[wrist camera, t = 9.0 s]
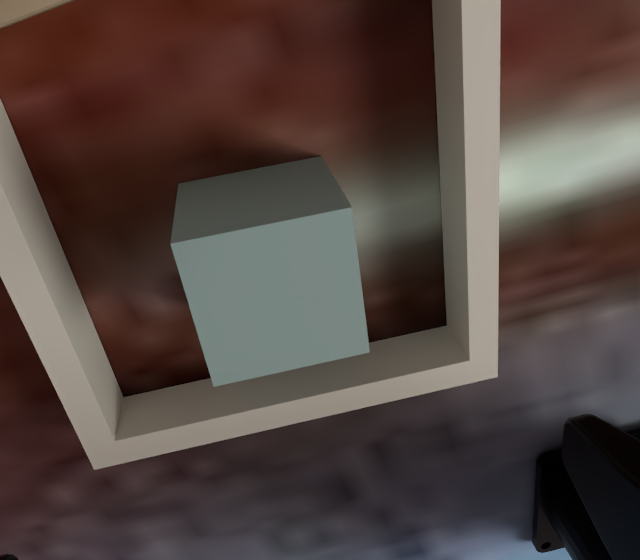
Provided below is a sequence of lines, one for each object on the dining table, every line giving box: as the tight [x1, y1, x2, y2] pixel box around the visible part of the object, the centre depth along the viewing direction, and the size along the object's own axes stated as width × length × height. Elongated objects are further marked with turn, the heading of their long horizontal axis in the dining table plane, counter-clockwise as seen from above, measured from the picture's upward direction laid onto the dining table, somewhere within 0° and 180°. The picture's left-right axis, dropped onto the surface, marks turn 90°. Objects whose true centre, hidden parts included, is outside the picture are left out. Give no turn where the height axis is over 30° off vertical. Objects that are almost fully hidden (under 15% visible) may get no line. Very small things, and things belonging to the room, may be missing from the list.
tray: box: [0, 0, 500, 470], centre depth 16 cm, size 20×14×2 cm
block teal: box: [170, 156, 370, 387], centre depth 17 cm, size 4×4×4 cm
